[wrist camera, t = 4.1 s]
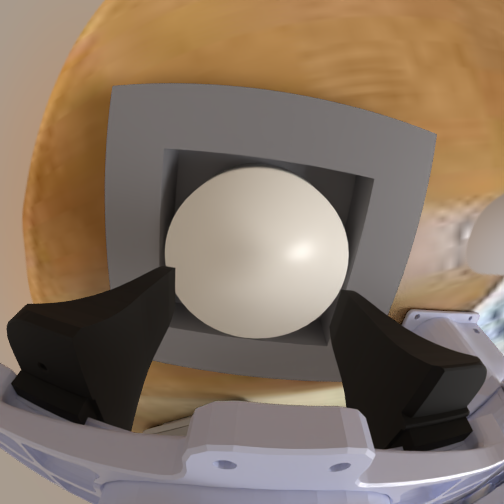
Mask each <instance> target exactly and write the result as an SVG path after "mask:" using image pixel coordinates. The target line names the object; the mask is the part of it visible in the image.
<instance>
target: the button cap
mask: <svg viewBox="0 0 504 504" xmlns="http://www.w3.org/2000/svg"><path fill="white" fill-rule="evenodd" d="M348 257H349V251H348V241H347V237H346V232H345V229H344V227H343V224H342V222H341V219H340V218H339V216H338V214H337V212H336V211H335V209H334V208H333V207H332V205H331V204H330V203H329V201H328V200H327V199H326V198H325V197H324V196H323V195H322V194H321V193H320V192H319V191H318V190H317V189H316V188H314V187H313V186H312V185H311V184H310V183H309V182H308V181H307V180H305V179H304V178H302V177H301V176H300V175H298V174H296V173H294V172H292V171H290V170H287V169H285V168H282V167H278V166H274V165H269V164H245V165H240V166H235V167H233V168H230V169H227V170H224V171H222V172H220V173H218V174H217V175H215V176H213V177H212V178H210V179H209V180H208V181H206V182H205V183H204V184H203V185H201V186H200V187H199V188H198V189H196V190H195V191H194V192H193V193H192V194H191V195H190V196H189V197H188V198H187V199H186V200H185V201H184V202H183V204H182V205H181V206H180V208H179V209H178V211H177V212H176V214H175V216H174V218H173V219H172V222H171V224H170V227H169V230H168V234H167V238H166V244H165V263H166V266H168V267H174V268H176V269H175V293H176V294H177V296H178V297H179V299H180V300H181V302H182V303H183V304H184V305H185V307H186V308H187V309H188V310H189V311H190V312H191V313H192V314H193V315H194V316H196V317H197V318H198V319H199V320H201V321H202V322H204V323H205V324H207V325H209V326H210V327H212V328H214V329H216V330H219V331H221V332H223V333H226V334H230V335H233V336H238V337H244V338H271V337H277V336H281V335H285V334H288V333H291V332H294V331H296V330H298V329H300V328H302V327H304V326H306V325H308V324H309V323H311V322H312V321H314V320H315V319H316V318H318V317H319V316H320V315H321V314H322V313H323V312H324V311H325V310H326V309H327V308H328V307H329V306H330V305H331V303H332V302H333V301H334V299H335V298H336V296H337V295H338V293H339V291H340V289H341V287H342V285H343V282H344V279H345V276H346V272H347V267H348Z"/></svg>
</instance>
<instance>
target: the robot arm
mask: <svg viewBox="0 0 504 504" xmlns="http://www.w3.org/2000/svg"><path fill="white" fill-rule="evenodd" d="M175 269H176V268H174V267H168V266H160V267H158V268H155V269H153V270H151V271H149V272H147V273H146V274H144V275H142V276H140V277H138V278H136V279H134V280H132V281H130V282H127V283H125V284H123V285H121V286H119V287H116V288H114V289H111V290H109V291H106V292H103V293H100V294H97V295H93V296H89V297H85V298H81V299H77V300H72V301H66V302H58V303H44V304H27V305H25V306H24V307H23V308H22V309H21V310H20V311H19V312H18V313H17V314H16V315H15V316H14V317H13V318H12V319H11V320H10V321H9V322H8V324H7V336H8V340H9V343H10V346H11V348H12V350H13V353H14V355H15V357H16V359H17V361H18V363H19V366H20V368H21V371H20V372H19V374H18V375H16V374H15V373H14V372H13V371H12V370H11V369H10V368H8V367H6V366H5V365H3V364H1V363H0V448H1V449H3V450H4V451H5V452H7V453H8V454H10V455H11V456H12V457H14V458H15V459H16V460H18V461H19V462H21V463H22V464H24V465H25V466H27V467H28V468H30V469H31V470H33V471H34V472H36V473H38V474H39V475H41V476H42V477H44V478H45V479H47V480H49V481H50V482H52V483H54V484H56V485H57V486H59V487H61V488H63V489H64V490H66V491H68V492H70V493H72V494H74V495H76V496H78V497H80V498H82V499H84V500H86V501H88V502H90V503H92V504H504V356H503V354H502V353H501V352H500V351H499V350H498V348H497V347H496V346H495V345H494V343H493V342H492V341H491V340H490V339H489V337H488V336H487V335H486V334H485V333H484V332H483V330H482V329H481V328H480V327H479V326H478V325H477V322H478V320H479V317H480V315H479V314H478V313H477V312H455V311H434V310H417V309H412V310H410V311H408V312H407V314H406V316H405V319H404V321H403V323H402V325H400V324H399V323H397V322H396V321H395V320H393V319H392V318H390V317H389V316H388V315H386V314H385V313H384V312H382V311H381V310H380V309H378V308H377V307H376V306H375V305H373V304H372V303H371V302H369V301H368V300H367V299H366V298H364V297H363V296H362V295H360V294H359V293H357V292H355V291H352V290H343V289H341V292H340V295H339V299H338V302H337V305H336V308H335V311H334V314H333V317H332V320H331V324H330V326H329V328H330V337H331V344H332V348H333V352H334V355H335V359H336V362H337V366H338V369H339V373H340V376H341V380H342V383H343V388H344V392H345V400H346V407H347V408H346V407H340V406H302V405H282V404H268V403H256V402H247V401H214V402H211V403H209V404H206V405H204V406H201V407H199V408H196V409H195V411H194V413H193V415H192V417H191V419H190V423H189V427H188V432H187V436H178V435H158V434H145V433H135V432H131V430H132V425H133V421H134V417H135V413H136V409H137V405H138V401H139V398H140V394H141V391H142V387H143V384H144V381H145V378H146V375H147V372H148V369H149V367H150V365H151V362H152V360H153V358H154V356H155V354H156V352H157V350H158V348H159V346H160V344H161V342H162V340H163V338H164V336H165V334H166V332H167V330H168V328H169V325H170V322H171V320H172V317H173V313H174V310H175ZM417 314H418V315H417ZM416 315H417V316H416ZM415 316H416V317H415Z"/></svg>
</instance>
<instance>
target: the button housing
mask: <svg viewBox="0 0 504 504" xmlns="http://www.w3.org/2000/svg"><path fill="white" fill-rule="evenodd" d="M436 137H437V134H435V133H432V132H430V131H427V130H425V129H422V128H419V127H417V126H414V125H411V124H408V123H405V122H402V121H400V120H397V119H393V118H390V117H387V116H384V115H381V114H377V113H374V112H371V111H367V110H364V109H360V108H356V107H352V106H348V105H344V104H340V103H336V102H332V101H327V100H323V99H318V98H313V97H308V96H303V95H297V94H291V93H285V92H279V91H272V90H265V89H257V88H248V87H238V86H226V85H211V84H184V83H159V84H133V85H118V86H113V87H112V94H111V102H110V110H109V120H108V131H107V144H106V163H105V227H106V246H107V260H108V271H109V281H110V290H111V289H114V288H116V287H119V286H121V285H123V284H125V283H127V282H130V281H132V280H134V279H136V278H138V277H140V276H142V275H144V274H146V273H147V272H149V271H151V270H153V269H155V268H158V267H160V266H166V263H165V244H166V238H167V234H168V230H169V227H170V224H171V222H172V219H173V218H174V216H175V214H176V212H177V211H178V209H179V208H180V206H181V205H182V204H183V202H184V201H185V200H186V199H187V198H188V197H189V196H190V195H191V194H192V193H193V192H194V191H195V190H196V189H198V188H199V187H200V186H201V185H203V184H204V183H205V182H206V181H208V180H209V179H210V178H212V177H213V176H215V175H217V174H218V173H220V172H222V171H224V170H227V169H230V168H233V167H235V166H240V165H245V164H269V165H274V166H278V167H282V168H285V169H287V170H290V171H292V172H294V173H296V174H298V175H300V176H301V177H302V178H304V179H305V180H307V181H308V182H309V183H310V184H311V185H312V186H313V187H314V188H316V189H317V190H318V191H319V192H320V193H321V194H322V195H323V196H324V197H325V198H326V199H327V200H328V201H329V203H330V204H331V205H332V207H333V208H334V209H335V211H336V212H337V214H338V216H339V218H340V219H341V222H342V224H343V227H344V229H345V232H346V237H347V241H348V251H349V257H348V267H347V272H346V276H345V279H344V282H343V285H342V287H341V289H343V290H352V291H355V292H357V293H359V294H360V295H362V296H363V297H364V298H366V299H367V300H368V301H369V302H371V303H372V304H373V305H375V306H376V307H377V308H378V309H380V310H381V311H382V312H384V313H385V314H386V315H388V313H389V310H390V308H391V305H392V303H393V300H394V298H395V295H396V292H397V290H398V287H399V284H400V281H401V278H402V276H403V273H404V270H405V267H406V264H407V261H408V258H409V254H410V251H411V248H412V245H413V241H414V238H415V235H416V231H417V227H418V224H419V220H420V216H421V212H422V208H423V204H424V200H425V196H426V191H427V187H428V182H429V177H430V172H431V167H432V162H433V156H434V150H435V143H436ZM341 289H340V291H339V293H338V295H337V296H336V298H335V299H334V301H333V302H332V303H331V305H330V306H329V307H328V308H327V309H326V310H325V311H324V312H323V313H322V314H321V315H320V316H319V317H318V318H316V319H315V320H314V321H312V322H311V323H309V324H308V325H306V326H304V327H302V328H300V329H298V330H296V331H294V332H291V333H288V334H285V335H281V336H277V337H271V338H244V337H238V336H233V335H230V334H226V333H223V332H221V331H219V330H216V329H214V328H212V327H210V326H209V325H207V324H205V323H204V322H202V321H201V320H199V319H198V318H197V317H196V316H194V315H193V314H192V313H191V312H190V311H189V310H188V309H187V308H186V307H185V305H184V304H183V303H182V302H181V300H180V299H179V297H178V296H177V294H176V293H175V310H174V313H173V317H172V320H171V322H170V325H169V328H168V330H167V332H166V334H165V336H164V338H163V340H162V342H161V344H160V346H159V348H158V350H157V352H156V354H155V356H154V358H153V361H158V362H162V363H167V364H172V365H178V366H183V367H188V368H194V369H200V370H207V371H213V372H220V373H227V374H235V375H243V376H252V377H262V378H273V379H286V380H303V381H331V382H342V380H341V376H340V373H339V369H338V366H337V362H336V359H335V355H334V352H333V348H332V344H331V337H330V328H329V326H330V324H331V320H332V317H333V314H334V311H335V308H336V305H337V302H338V299H339V295H340V292H341Z"/></svg>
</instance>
